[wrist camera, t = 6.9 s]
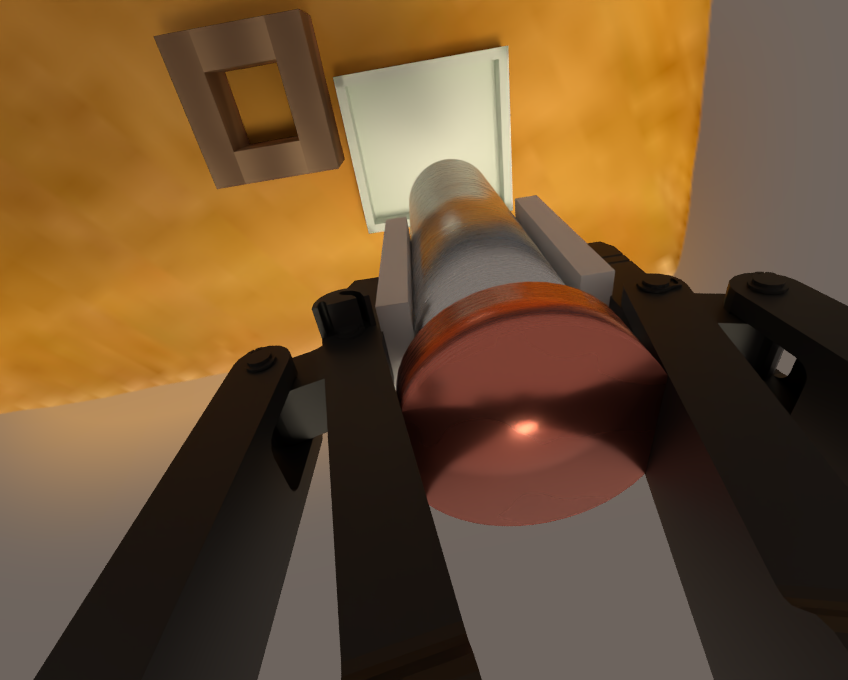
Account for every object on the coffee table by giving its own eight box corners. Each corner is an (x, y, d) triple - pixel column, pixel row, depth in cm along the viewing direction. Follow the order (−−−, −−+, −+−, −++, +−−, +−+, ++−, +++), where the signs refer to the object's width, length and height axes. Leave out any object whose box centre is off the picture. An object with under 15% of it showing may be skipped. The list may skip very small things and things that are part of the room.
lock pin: (409, 256, 21) (417, 538, 9) (392, 158, 19) (365, 353, 6) (501, 241, 21) (651, 510, 8) (496, 141, 19) (706, 303, 6)
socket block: (234, 178, 36) (217, 189, 33) (180, 39, 31) (153, 36, 27) (344, 159, 36) (338, 168, 32) (310, 15, 30) (298, 8, 27)
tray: (370, 224, 39) (368, 233, 37) (337, 76, 32) (332, 77, 30) (506, 202, 38) (512, 210, 36) (501, 47, 32) (508, 45, 30)
